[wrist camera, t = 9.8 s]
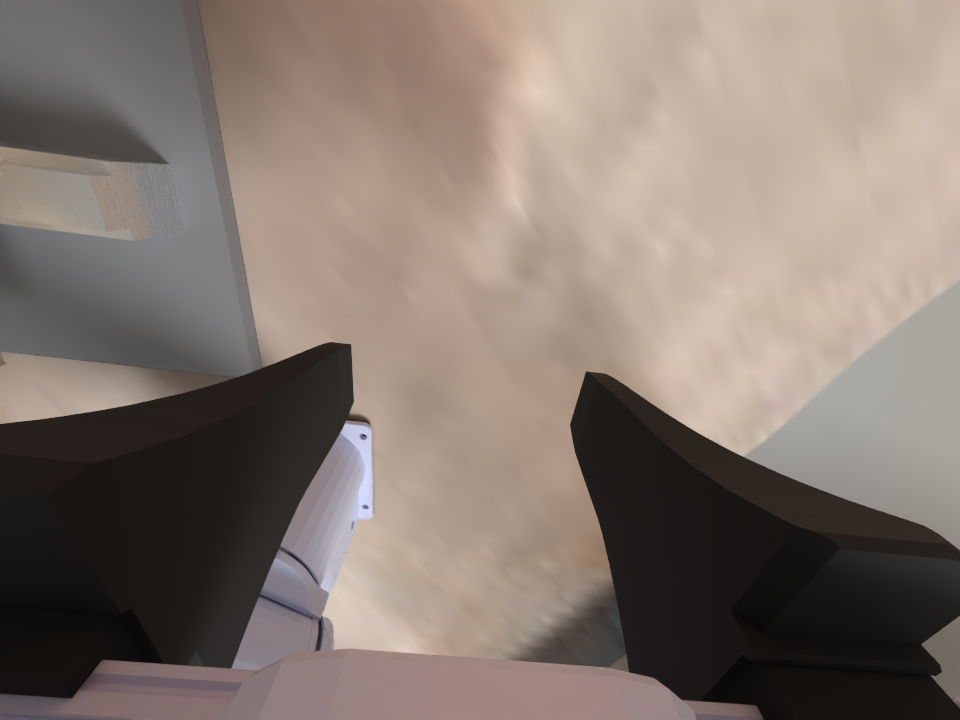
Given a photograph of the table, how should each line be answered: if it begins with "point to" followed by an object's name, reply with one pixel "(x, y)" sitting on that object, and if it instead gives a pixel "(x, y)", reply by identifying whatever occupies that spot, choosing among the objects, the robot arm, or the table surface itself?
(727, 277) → the table surface
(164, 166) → the metal ridge
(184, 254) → the base plate
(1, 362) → the beech bar
